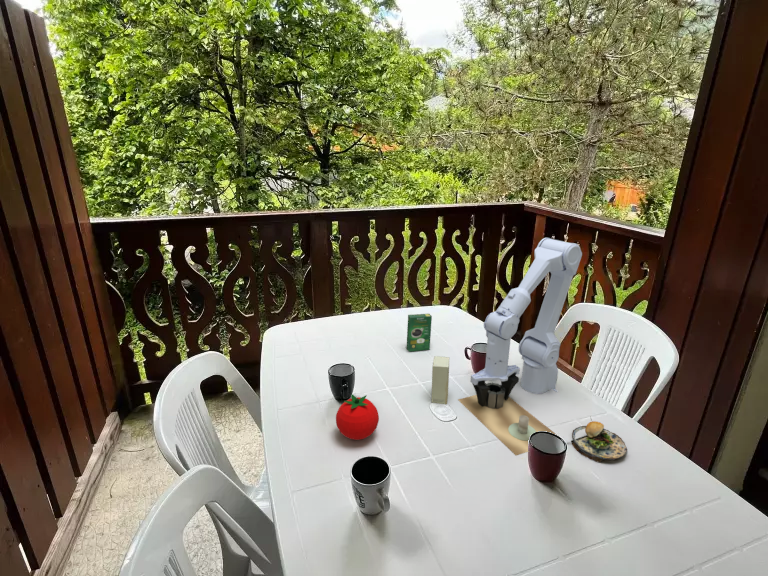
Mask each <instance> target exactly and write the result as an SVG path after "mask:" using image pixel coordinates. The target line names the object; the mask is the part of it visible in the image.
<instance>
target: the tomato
mask: <svg viewBox="0 0 768 576" xmlns="http://www.w3.org/2000/svg"><path fill="white" fill-rule="evenodd" d="M350 395H351V398H349V399H347V400H343V403H342V404H341V405H340V406H339V407H338V410H337V411H336V414H335V423H336V427H337V428H338V430H339V432H340V434H341V435H343V436H344V437H345V438H348V439H350V440H355V441H357V440H364V439H367V438H368V437H370V436H371V435H372V434H374V432H375V431H376V429H377V428H378V424H379V421H380V415H379V411H378V409H377V407H376V405H375V404H374V403H373V402H372V401H371V400H369V399H368V398H366V397H367V394H366V395H363V396H362V397H356V396H355V395H354V394H352V393H351V394H350Z"/></svg>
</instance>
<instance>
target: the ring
mask: <svg viewBox="0 0 768 576" xmlns="http://www.w3.org/2000/svg"><path fill="white" fill-rule="evenodd" d="M486 385H487V386H488V387H489V388H490V389H489V390H488V393H487V396H486V403H485V406H486V407H488V408H492V409H495V408H496V409H499V408H502V407H503V404H504V396H505V388H504V387H503V386H502V385H501V384H500V383H496V382H487V383H486Z"/></svg>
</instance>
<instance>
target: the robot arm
mask: <svg viewBox="0 0 768 576" xmlns="http://www.w3.org/2000/svg"><path fill="white" fill-rule="evenodd" d="M533 256H534V260H533V262H532V263H531V264H530V266H529V268H528V270H527V271H526V273H525V275H524V276H523V278H522V280H521V281H520V283H519V285H518V287H515V288H511V289H510V290H509V292H508V293H507V295H506V296H505V298H504V299H503V300H502V302H501V303H500V305H499V306H498V308H497V309H496V310H495V311H493V312H490V313H488V315H487V316H486V318H485V321H484V322H483V328H484V330H485V332H486V333H485V337H486V339H487V341H486V342H487V343H486V351H485V352H486V353H485V365H484V368H482V369H481V370H479V371H478V372H475V373H473V374H471V375H470V383H471V384H472V386H473V389H474V391H475V395H477V399H478V403H479V404H480V405H481V406H482V407H484V406H485V403H486V396H487V393H488V390H489V389H490V388H489V387H488V386H487V385H486V384H487V383H486V382H487V381H500V385H502V386H503V387H504V388H505V396H504V400H508V398H509V397H510V395H511V393H512V391H513V389H514V388H515V386H516V385H517V384H518V383H519V381H520V387H521V389H523V390H524V391H525V392H528V393H530V394H535V395H540V394H544V393H546V392H548V391H551V390H553V391H554V392H555V393H558V390H557V389H556V386H557V381H558V380H557V379H558V374H559V371H558V370H559V369H558V365H557V362H558V360H559V358H560V347H561V342H560V340H559V339H558V337H557V335H556V334H555V331H556V329H557V326H558V323H559V319H560V316H561V313H562V310H563V307H564V304H565V301H566V299H567V295H568V292H569V289H570V286H571V283H572V281H573V277H574V276H576V275H577V271H578V268H579V266H580V262H581V259H582V256H583V252H582V249H581V247H580V245H579V244H578V243H574V242H567V241H563V240H559V239H553V238H550V237H544V238H542V239H541V240H540V241H539V242H538V244H537V246H536V248H535V249H534V255H533ZM548 273H550V279H549V282H548V286H547V288H546V292H545V294H544V298H543V301H542V304H541V307H540V310H539V312H538V316H537V319H536V321H535V325H534V327H533V328H531V329H528V330H526V331H525V332H524V335H523V337H522V339H521V340H520V342H519V344H518V353H519V354H520V355H521V360H522V362H523V363H522V371H521V368H520V367H519V366H518V365H516V364H513V365H509V356H510V348H511V347H510V346H511V338H512V337H514V335H515V334H516V333H517V330H518V327H519V323H520V318H521V316H522V315H523V314H524V312H525V310H526V309H527V308H528V306H529V305H530V304H531V302H532V299H531V294H532V293H533V292H534V291H535V290H536V288H537V286H539V285H540V284H541V282H542V281H543V279H544V278H545V277H546V276H547V275H548ZM520 371H521V379H520V377H518V375H520Z"/></svg>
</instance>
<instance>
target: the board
mask: <svg viewBox="0 0 768 576" xmlns="http://www.w3.org/2000/svg"><path fill="white" fill-rule="evenodd" d="M457 401H459V403H460V404H462V406H463V407H464V408H466V409H467V410H468V411H469V412H470V413H471V414H472V415H473V416H474V417H475V418H476V419H477V420H478V421H479V422H480V423H482V425H483V426H484V427H486V428H487V430H489V431H490V432H491V434H492V435H494V436H495V437H496V438H497V439H498V440H499V441H500V442H501V443H502V444H503V445H504V446H505V447H506V448H507V449H508V450H509V451H510V452H511V453H512V454H513V455H514V456H516V457H517V456H519V455H522V454H525V453H528V452H529V451H528V440H529V437H530V435H532V434H533V433H535V432H538V431H547V432H551V433H553V434H556V435H558V434H557V433H555V432H554V431H553V430H551V429H550V428H549V427H548V426H546V424H544V423H543V422H542V421H540V420H539V419H538V418H536V417H535V416H534V415H533V414H532V413H530V412H529V411H528V410H526V409H525V408H524V407H523V406H521V404H519V403H517V401H516V400H514V399H512V398H511V397H510V396H509V398H508V400H504V404H503V407H502V408H499V409H496V408H495V409H492V408H488V407H486V406H484V407H482V406H481V405H480V404H479V403H478V399H477V394H474V395H469V396H466V397H463V398H458V399H457Z"/></svg>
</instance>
